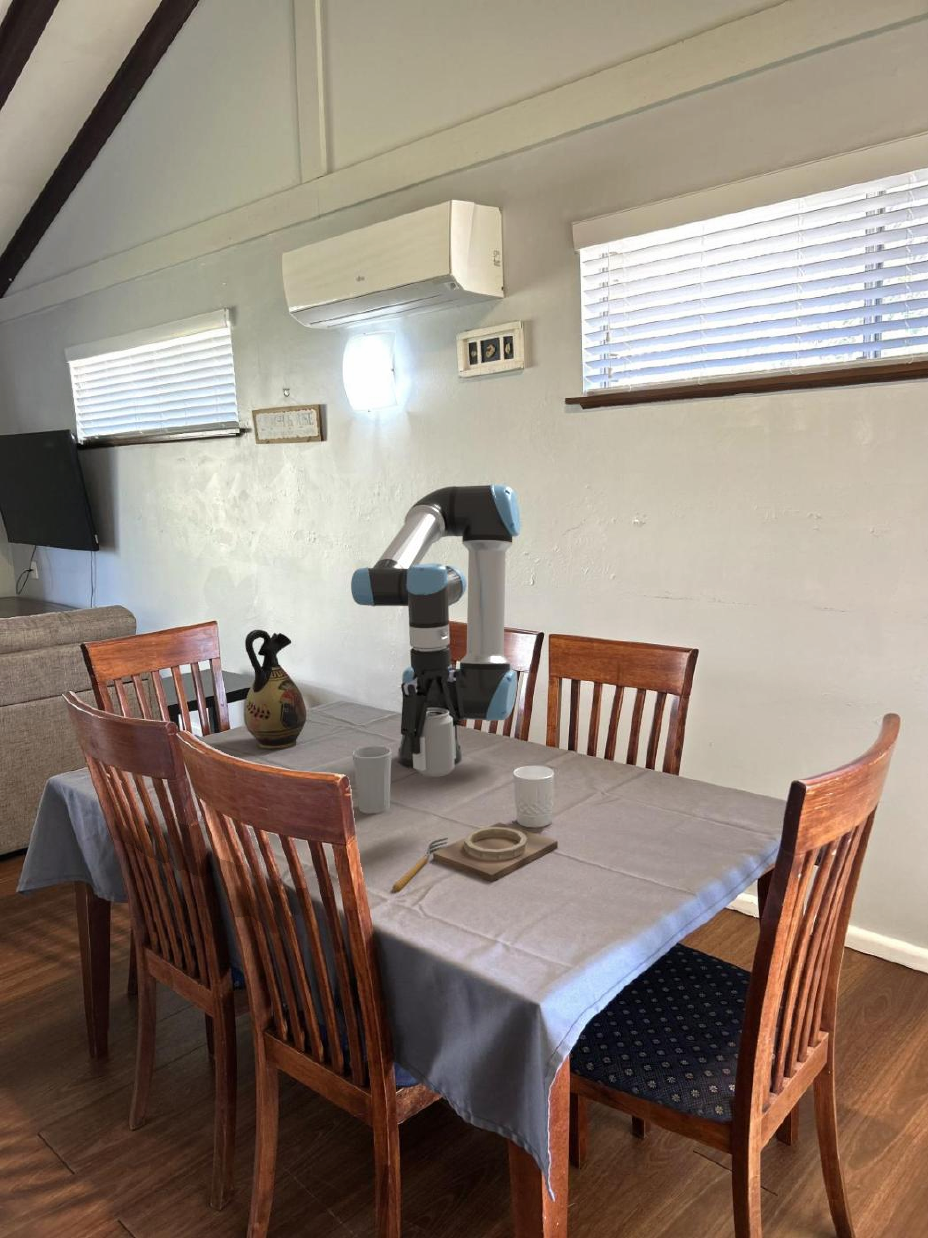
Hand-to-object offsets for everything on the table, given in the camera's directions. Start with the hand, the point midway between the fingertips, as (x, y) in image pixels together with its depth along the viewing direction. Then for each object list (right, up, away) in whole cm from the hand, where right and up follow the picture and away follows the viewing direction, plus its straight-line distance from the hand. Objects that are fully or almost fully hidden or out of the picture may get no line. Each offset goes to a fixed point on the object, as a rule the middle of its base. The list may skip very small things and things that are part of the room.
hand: (435, 762), depth 177 cm
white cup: (+19, -12, +3) cm, 23 cm away
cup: (-13, -11, +13) cm, 21 cm away
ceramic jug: (-43, -5, +58) cm, 72 cm away
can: (0, -2, 0) cm, 2 cm away
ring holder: (+11, -15, -11) cm, 22 cm away
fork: (-2, -16, -16) cm, 23 cm away
